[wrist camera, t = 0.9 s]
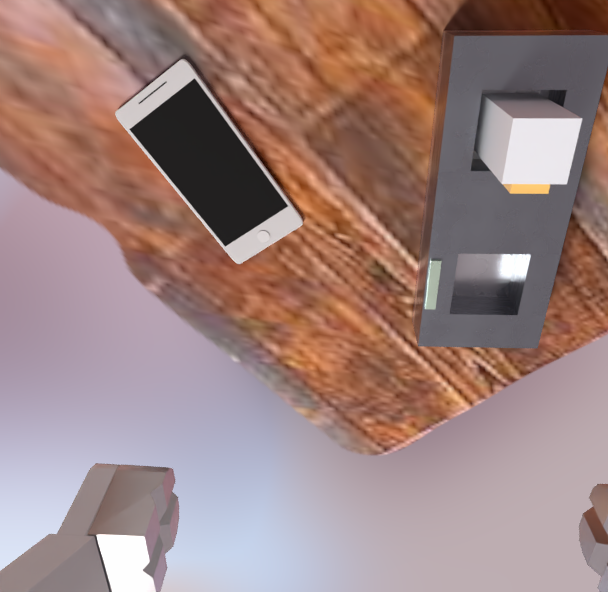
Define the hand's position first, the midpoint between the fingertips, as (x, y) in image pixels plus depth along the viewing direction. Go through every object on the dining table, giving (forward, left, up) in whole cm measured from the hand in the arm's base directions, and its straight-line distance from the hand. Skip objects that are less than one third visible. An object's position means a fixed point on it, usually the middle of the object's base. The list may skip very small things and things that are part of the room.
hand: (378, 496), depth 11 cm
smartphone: (+4, -10, -36) cm, 38 cm away
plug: (0, +12, -35) cm, 36 cm away
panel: (+6, +12, -36) cm, 38 cm away
